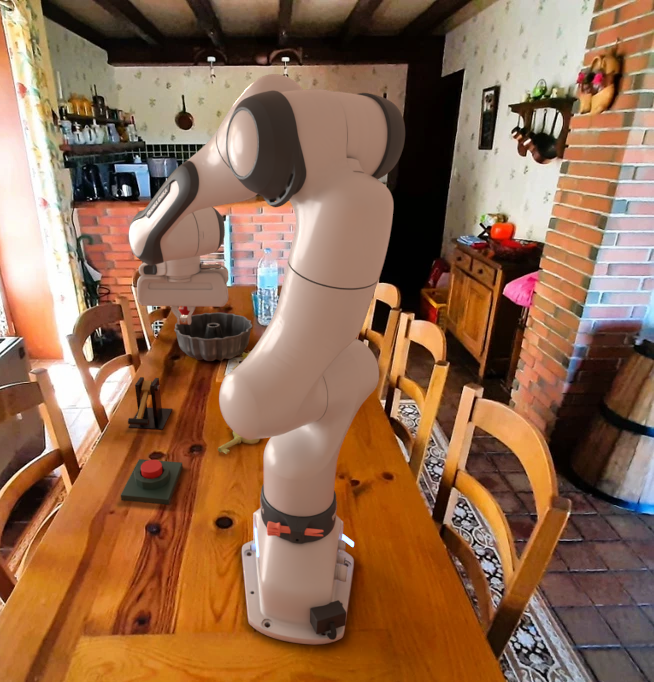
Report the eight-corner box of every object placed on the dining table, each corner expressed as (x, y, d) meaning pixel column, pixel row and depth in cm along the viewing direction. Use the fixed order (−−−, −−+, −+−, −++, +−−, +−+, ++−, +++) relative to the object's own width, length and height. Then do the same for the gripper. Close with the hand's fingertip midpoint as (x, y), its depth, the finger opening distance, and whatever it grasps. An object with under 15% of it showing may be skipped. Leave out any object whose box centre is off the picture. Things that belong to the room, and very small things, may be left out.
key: (216, 456, 112) (216, 448, 111) (236, 429, 122) (236, 421, 121) (245, 463, 108) (245, 455, 108) (263, 435, 119) (263, 427, 118)
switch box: (169, 508, 96) (167, 492, 95) (121, 503, 98) (119, 487, 97) (182, 470, 107) (181, 455, 106) (139, 467, 109) (138, 452, 108)
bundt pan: (223, 331, 183) (222, 306, 179) (269, 353, 163) (269, 325, 159) (162, 349, 170) (160, 323, 167) (204, 375, 150) (202, 346, 146)
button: (159, 480, 99) (158, 473, 98) (138, 478, 100) (137, 471, 99) (165, 467, 103) (164, 460, 102) (145, 465, 104) (144, 458, 103)
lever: (149, 427, 117) (146, 422, 115) (129, 426, 118) (126, 421, 116) (159, 386, 124) (157, 380, 122) (140, 385, 125) (138, 380, 123)
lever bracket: (162, 433, 121) (158, 391, 117) (128, 430, 123) (123, 389, 119) (172, 412, 130) (169, 373, 126) (140, 410, 132) (136, 372, 128)
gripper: (230, 259, 105) (231, 319, 110) (140, 260, 109) (146, 318, 115) (225, 267, 99) (227, 329, 105) (131, 267, 104) (138, 327, 109)
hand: (184, 323), depth 110 cm, fingers closed
